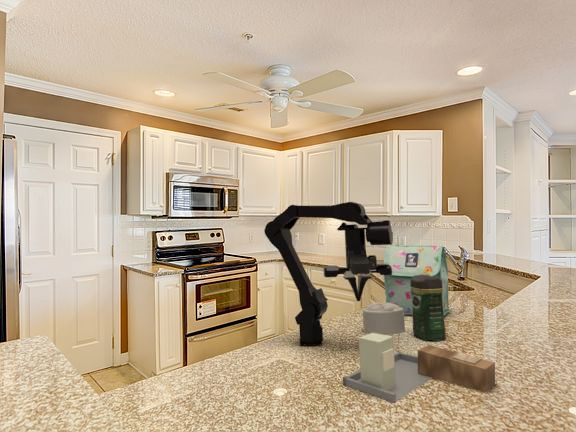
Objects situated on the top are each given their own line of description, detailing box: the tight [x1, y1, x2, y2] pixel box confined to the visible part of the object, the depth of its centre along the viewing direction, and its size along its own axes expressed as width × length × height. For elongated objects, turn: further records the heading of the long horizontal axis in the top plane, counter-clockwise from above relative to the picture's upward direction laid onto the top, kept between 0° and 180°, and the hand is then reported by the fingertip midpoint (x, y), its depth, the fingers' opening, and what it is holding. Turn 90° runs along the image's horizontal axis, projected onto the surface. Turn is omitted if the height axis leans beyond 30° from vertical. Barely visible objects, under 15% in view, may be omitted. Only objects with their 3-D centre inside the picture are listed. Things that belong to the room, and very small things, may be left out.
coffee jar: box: [410, 275, 447, 342], centre depth 109 cm, size 10×8×19 cm
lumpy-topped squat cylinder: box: [362, 301, 406, 336], centre depth 118 cm, size 10×13×9 cm
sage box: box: [358, 333, 396, 391], centre depth 74 cm, size 5×5×10 cm
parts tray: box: [342, 351, 433, 404], centre depth 78 cm, size 12×22×2 cm, turn 132°
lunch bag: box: [383, 244, 451, 317], centre depth 141 cm, size 23×16×27 cm
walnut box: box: [417, 344, 496, 393], centre depth 76 cm, size 5×5×14 cm
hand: (358, 300), depth 102 cm, fingers closed
